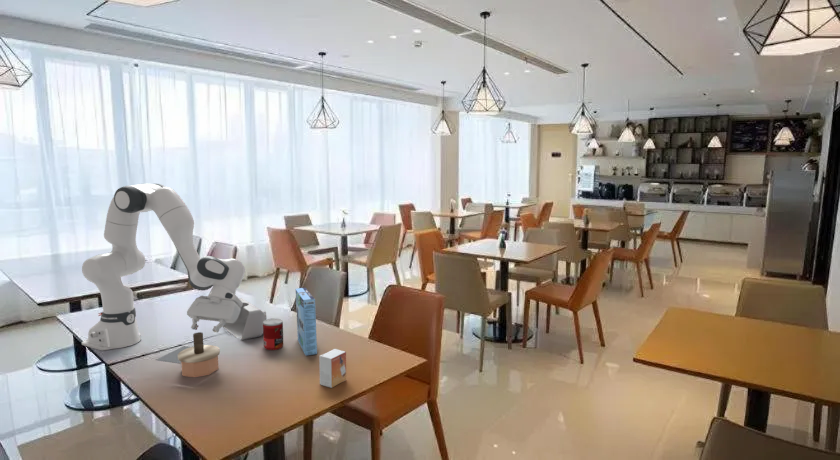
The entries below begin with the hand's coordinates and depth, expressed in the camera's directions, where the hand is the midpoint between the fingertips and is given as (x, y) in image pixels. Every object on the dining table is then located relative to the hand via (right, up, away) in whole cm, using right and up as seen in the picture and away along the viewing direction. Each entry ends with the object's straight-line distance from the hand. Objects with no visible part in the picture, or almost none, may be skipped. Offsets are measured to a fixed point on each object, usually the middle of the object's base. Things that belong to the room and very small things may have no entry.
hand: (204, 330), depth 179 cm
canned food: (+19, -12, +22) cm, 31 cm away
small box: (+50, -16, -10) cm, 53 cm away
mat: (-13, -13, +12) cm, 22 cm away
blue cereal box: (+33, -12, +22) cm, 41 cm away
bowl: (-1, -14, -1) cm, 15 cm away
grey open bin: (+1, -9, +42) cm, 43 cm away
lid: (-1, -9, -2) cm, 9 cm away
